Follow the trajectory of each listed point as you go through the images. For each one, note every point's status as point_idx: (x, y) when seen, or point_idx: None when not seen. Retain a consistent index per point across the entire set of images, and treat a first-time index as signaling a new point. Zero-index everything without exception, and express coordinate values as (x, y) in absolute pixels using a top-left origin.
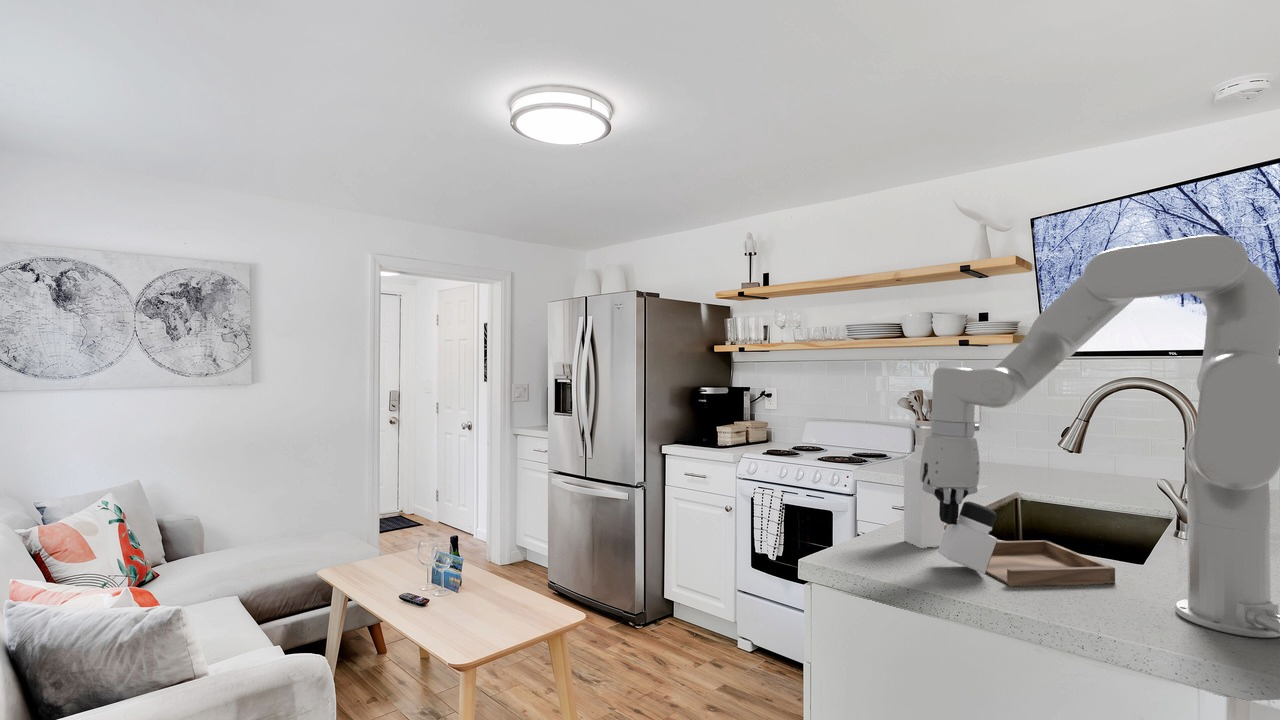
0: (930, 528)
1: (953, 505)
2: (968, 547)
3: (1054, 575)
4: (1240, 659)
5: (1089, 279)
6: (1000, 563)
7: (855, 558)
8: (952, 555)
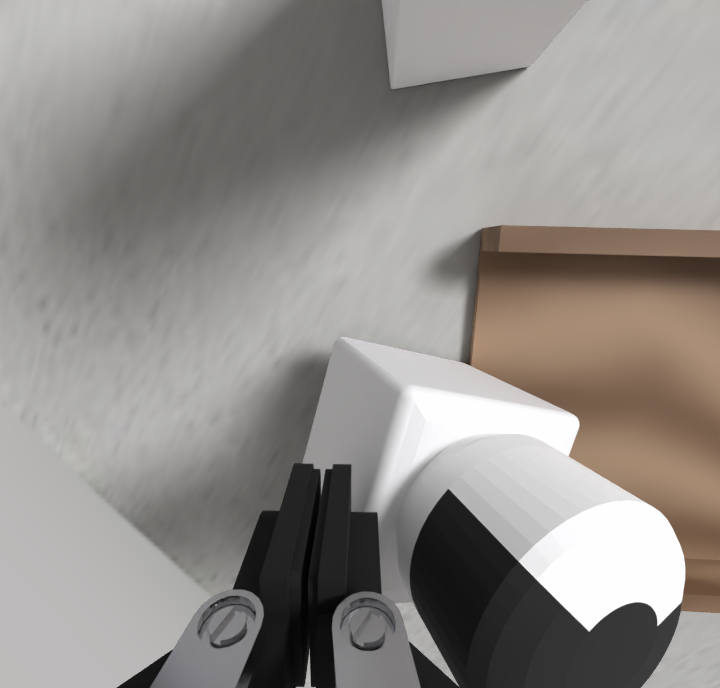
0: (470, 28)
1: (313, 681)
2: None
3: None
4: None
5: None
6: (583, 376)
7: (31, 214)
8: None
